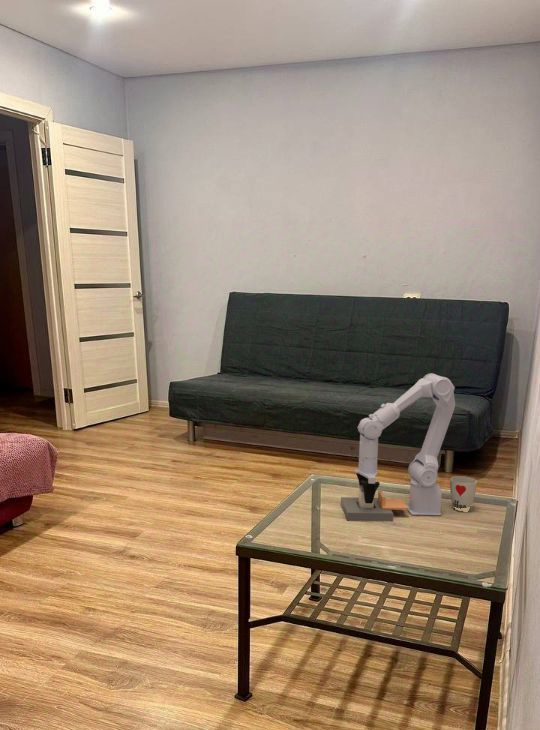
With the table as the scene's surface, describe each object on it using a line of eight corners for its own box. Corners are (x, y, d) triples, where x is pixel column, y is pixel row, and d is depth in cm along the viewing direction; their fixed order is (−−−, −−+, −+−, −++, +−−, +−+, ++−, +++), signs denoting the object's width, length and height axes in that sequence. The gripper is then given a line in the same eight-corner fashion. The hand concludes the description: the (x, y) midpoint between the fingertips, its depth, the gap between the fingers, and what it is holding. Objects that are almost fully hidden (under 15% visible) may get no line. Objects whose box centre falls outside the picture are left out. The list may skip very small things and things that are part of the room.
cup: (443, 507, 194) (445, 477, 193) (461, 503, 198) (462, 474, 197) (462, 515, 187) (464, 485, 186) (480, 511, 191) (482, 481, 190)
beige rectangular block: (370, 509, 190) (371, 485, 189) (373, 514, 186) (374, 489, 185) (358, 509, 190) (359, 485, 189) (360, 513, 186) (361, 489, 185)
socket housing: (383, 505, 195) (383, 497, 195) (392, 521, 181) (393, 513, 181) (340, 504, 194) (340, 497, 194) (347, 520, 181) (347, 512, 180)
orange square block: (401, 500, 192) (402, 490, 191) (408, 509, 184) (408, 498, 183) (377, 500, 191) (377, 489, 191) (382, 509, 184) (383, 498, 183)
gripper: (351, 450, 193) (350, 491, 194) (359, 462, 178) (357, 506, 180) (373, 450, 193) (371, 491, 194) (382, 463, 179) (380, 507, 180)
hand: (366, 498), depth 187 cm, fingers open, 7 cm apart
